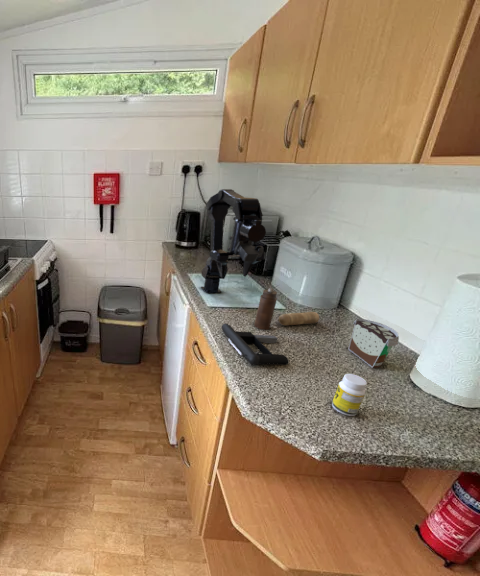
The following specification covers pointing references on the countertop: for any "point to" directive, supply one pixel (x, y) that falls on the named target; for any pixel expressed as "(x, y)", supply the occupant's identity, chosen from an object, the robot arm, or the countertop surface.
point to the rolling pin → (299, 318)
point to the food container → (372, 341)
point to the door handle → (245, 338)
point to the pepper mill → (266, 309)
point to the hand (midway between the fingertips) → (233, 276)
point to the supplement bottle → (349, 394)
